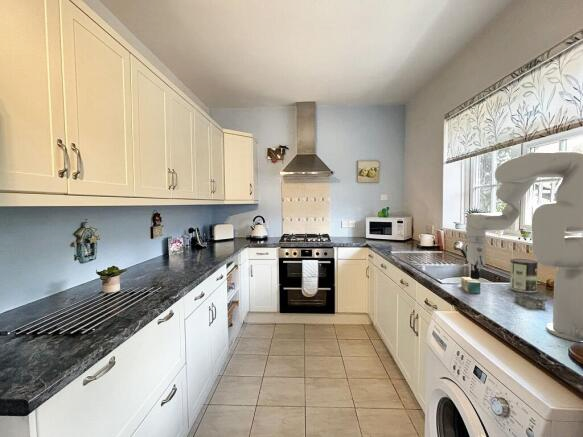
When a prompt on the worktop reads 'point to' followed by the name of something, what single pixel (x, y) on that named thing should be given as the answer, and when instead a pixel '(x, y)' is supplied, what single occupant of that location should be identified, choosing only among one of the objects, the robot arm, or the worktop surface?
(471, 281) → the maple block
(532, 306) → the egg carton
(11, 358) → the worktop surface
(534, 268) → the coffee can
